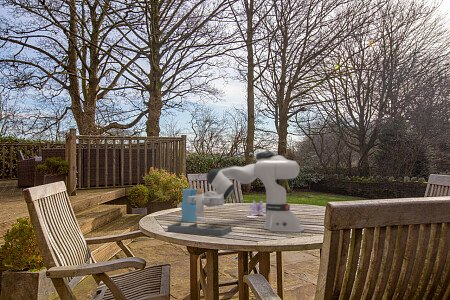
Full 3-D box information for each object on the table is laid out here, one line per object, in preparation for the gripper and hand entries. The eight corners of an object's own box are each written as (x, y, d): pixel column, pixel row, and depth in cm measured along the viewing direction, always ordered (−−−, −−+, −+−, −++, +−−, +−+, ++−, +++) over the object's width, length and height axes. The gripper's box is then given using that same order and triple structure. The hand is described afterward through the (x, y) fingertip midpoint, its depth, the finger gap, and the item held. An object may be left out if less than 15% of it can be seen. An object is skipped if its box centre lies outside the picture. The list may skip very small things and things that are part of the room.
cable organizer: (232, 231, 194) (232, 225, 194) (221, 236, 181) (221, 230, 181) (180, 227, 206) (180, 221, 206) (167, 231, 193) (167, 225, 193)
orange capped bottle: (206, 214, 195) (206, 188, 196) (201, 215, 191) (202, 189, 191) (197, 214, 197) (197, 188, 198) (193, 215, 193) (193, 188, 193)
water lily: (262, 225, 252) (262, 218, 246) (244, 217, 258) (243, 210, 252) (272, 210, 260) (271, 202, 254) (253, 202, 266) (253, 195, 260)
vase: (189, 222, 223) (190, 190, 224) (180, 221, 228) (181, 189, 229) (198, 220, 229) (198, 189, 230) (189, 219, 234) (189, 188, 235)
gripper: (194, 192, 210) (182, 194, 198) (226, 194, 202) (216, 196, 190) (194, 203, 210) (182, 206, 197) (226, 205, 202) (216, 208, 189)
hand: (199, 201), depth 193 cm, fingers closed on orange capped bottle, 4 cm apart
